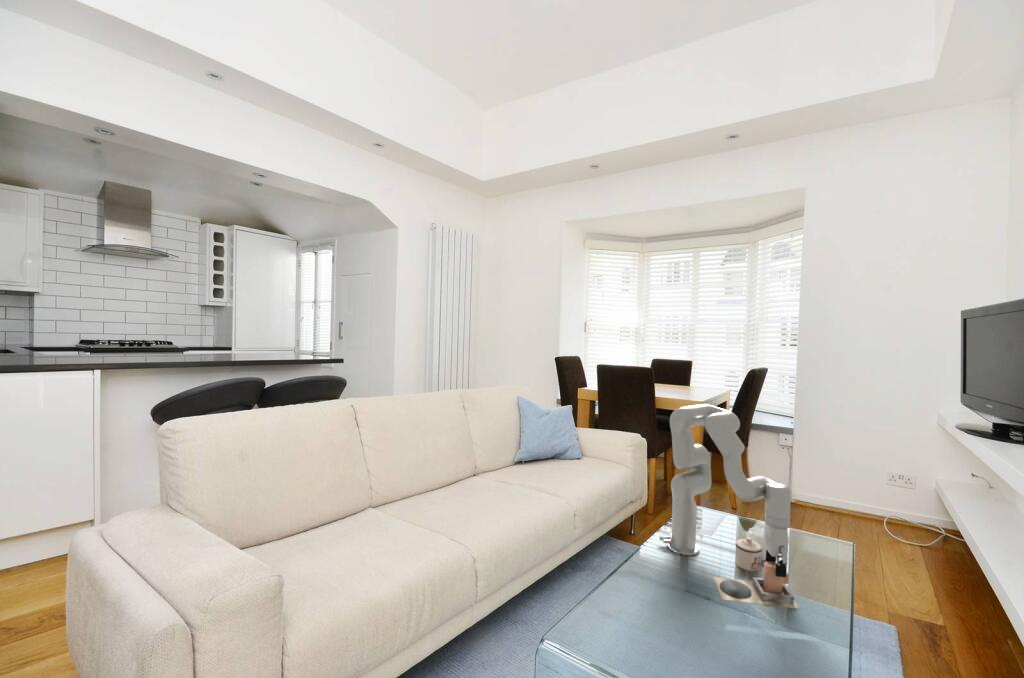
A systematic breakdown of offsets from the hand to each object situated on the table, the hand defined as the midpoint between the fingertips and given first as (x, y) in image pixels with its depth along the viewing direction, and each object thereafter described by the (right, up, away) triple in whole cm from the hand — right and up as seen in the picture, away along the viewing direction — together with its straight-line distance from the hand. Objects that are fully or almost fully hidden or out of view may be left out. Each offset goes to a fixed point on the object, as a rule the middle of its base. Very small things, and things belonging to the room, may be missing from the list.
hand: (775, 568), depth 167 cm
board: (-6, -10, +2) cm, 12 cm away
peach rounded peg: (0, -9, +1) cm, 9 cm away
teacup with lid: (+1, -9, +21) cm, 23 cm away
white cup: (+9, -9, +29) cm, 32 cm away
